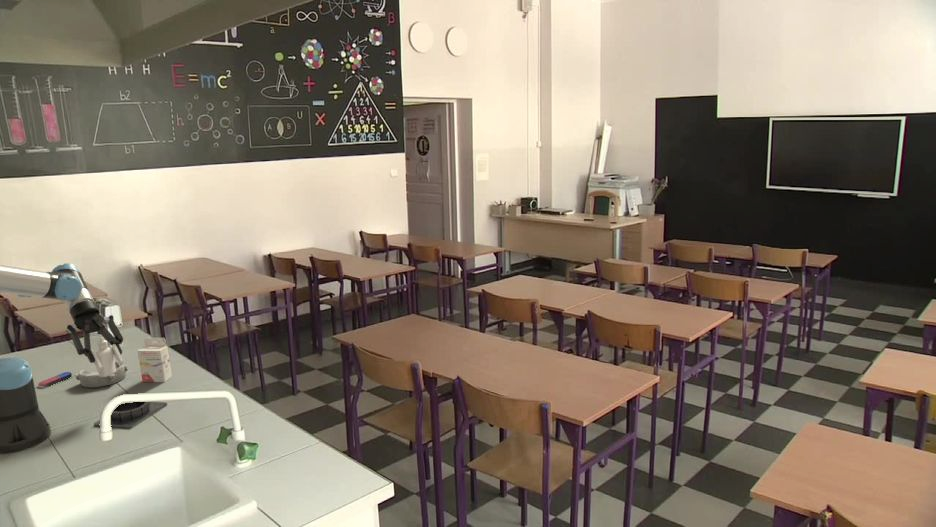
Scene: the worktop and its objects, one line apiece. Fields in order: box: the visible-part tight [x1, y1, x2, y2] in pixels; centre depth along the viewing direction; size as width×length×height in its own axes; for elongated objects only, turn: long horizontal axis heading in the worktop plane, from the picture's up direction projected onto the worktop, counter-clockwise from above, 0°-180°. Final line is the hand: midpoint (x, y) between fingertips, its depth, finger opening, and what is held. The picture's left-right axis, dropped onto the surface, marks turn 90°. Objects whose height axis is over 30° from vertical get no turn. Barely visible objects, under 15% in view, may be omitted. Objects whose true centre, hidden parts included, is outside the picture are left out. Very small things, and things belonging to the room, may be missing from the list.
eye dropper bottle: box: [96, 336, 116, 377], centre depth 203 cm, size 4×6×12 cm
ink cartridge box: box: [137, 337, 173, 383], centre depth 228 cm, size 9×5×15 cm, turn 84°
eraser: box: [37, 371, 73, 389], centre depth 232 cm, size 11×4×2 cm, turn 154°
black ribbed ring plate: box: [93, 401, 168, 429], centre depth 201 cm, size 16×13×3 cm
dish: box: [74, 361, 129, 388], centre depth 230 cm, size 14×14×5 cm
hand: (111, 366), depth 201 cm, fingers closed on eye dropper bottle, 5 cm apart
